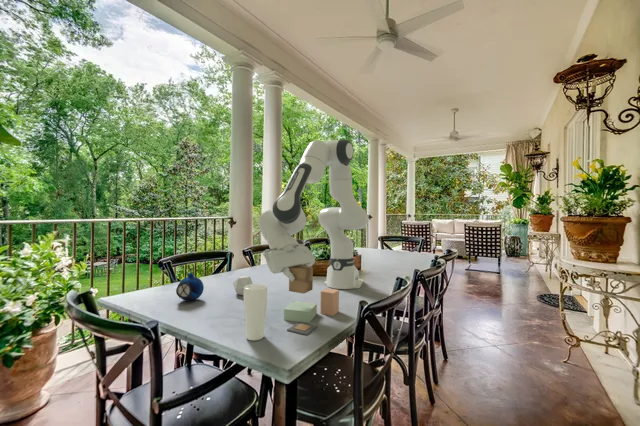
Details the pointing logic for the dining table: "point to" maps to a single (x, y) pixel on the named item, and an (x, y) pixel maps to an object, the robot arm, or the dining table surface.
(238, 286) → the die
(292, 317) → the sage base block
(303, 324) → the card
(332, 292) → the terracotta block
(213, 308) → the dining table surface
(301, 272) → the walnut block
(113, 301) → the dining table surface
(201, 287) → the bomb
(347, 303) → the dining table surface
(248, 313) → the drinking glass
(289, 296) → the dining table surface
